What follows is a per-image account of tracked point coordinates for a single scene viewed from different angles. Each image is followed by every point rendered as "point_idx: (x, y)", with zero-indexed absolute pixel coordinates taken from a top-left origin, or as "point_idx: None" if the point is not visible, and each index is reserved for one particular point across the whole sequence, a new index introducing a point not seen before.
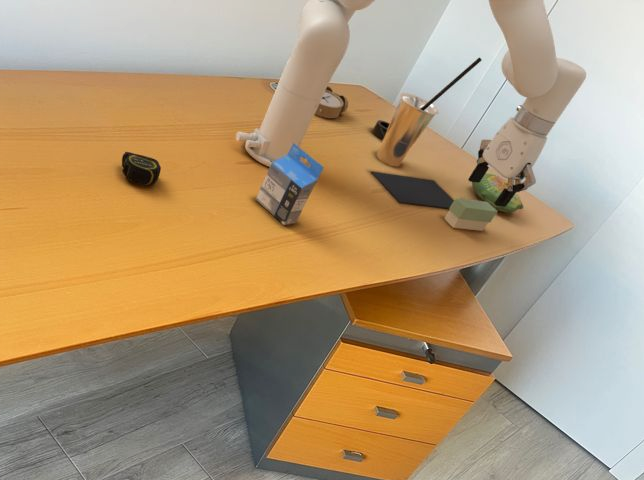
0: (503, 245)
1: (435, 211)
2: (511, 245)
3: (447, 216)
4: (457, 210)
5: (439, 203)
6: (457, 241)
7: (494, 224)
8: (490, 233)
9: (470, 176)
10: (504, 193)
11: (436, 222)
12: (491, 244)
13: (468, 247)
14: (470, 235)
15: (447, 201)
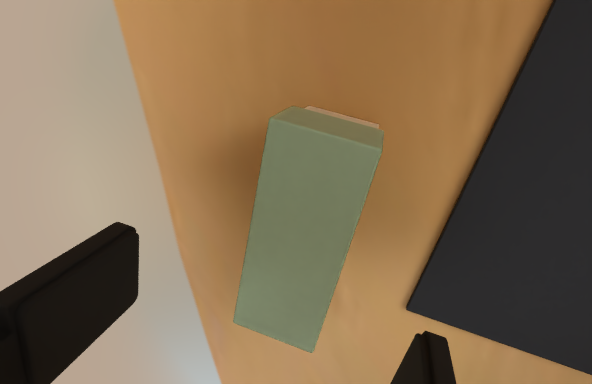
0: (195, 258)
1: (444, 131)
2: (196, 293)
3: (368, 125)
4: (323, 120)
5: (486, 221)
6: (215, 18)
7: (305, 355)
8: None
9: (446, 360)
10: (30, 281)
11: (362, 29)
12: (199, 208)
13: (176, 47)
14: (252, 158)
15: (483, 290)
